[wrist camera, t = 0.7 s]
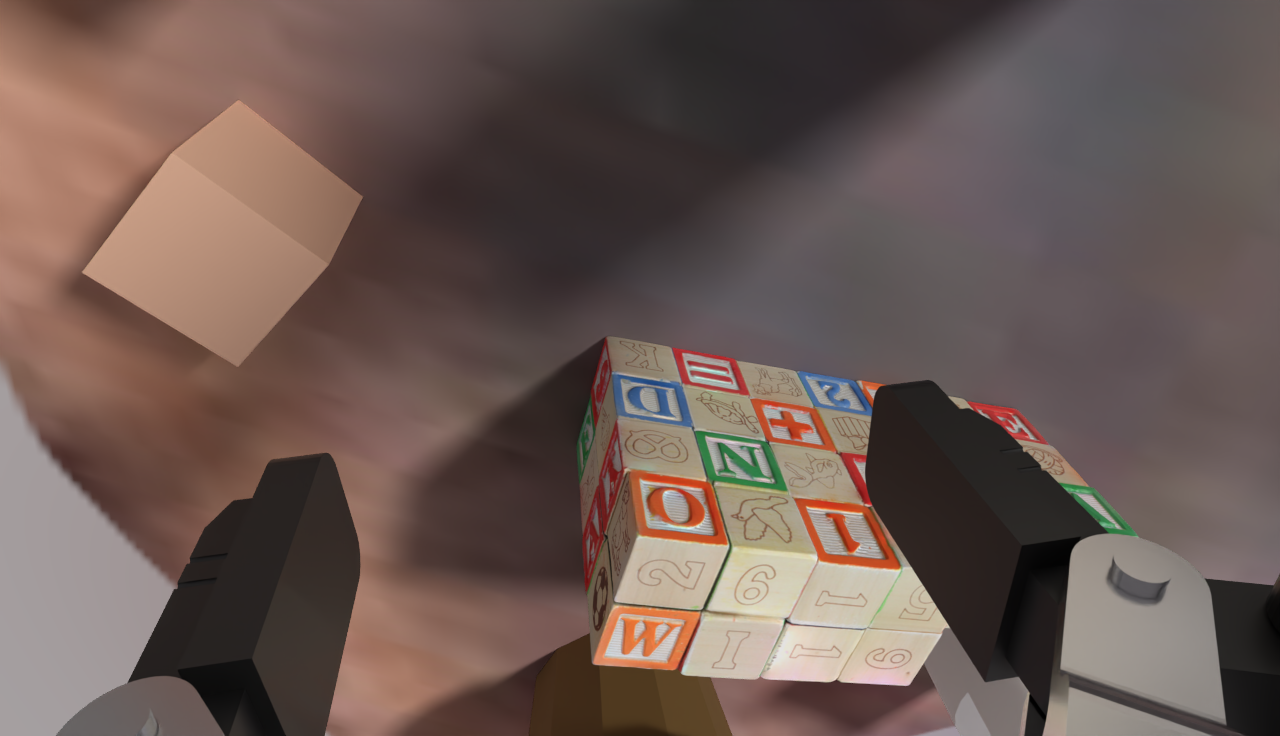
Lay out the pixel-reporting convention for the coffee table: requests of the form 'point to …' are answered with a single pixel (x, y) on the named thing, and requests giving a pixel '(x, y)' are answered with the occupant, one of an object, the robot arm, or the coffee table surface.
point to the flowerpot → (621, 699)
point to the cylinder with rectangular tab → (974, 692)
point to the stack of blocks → (753, 522)
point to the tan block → (227, 234)
